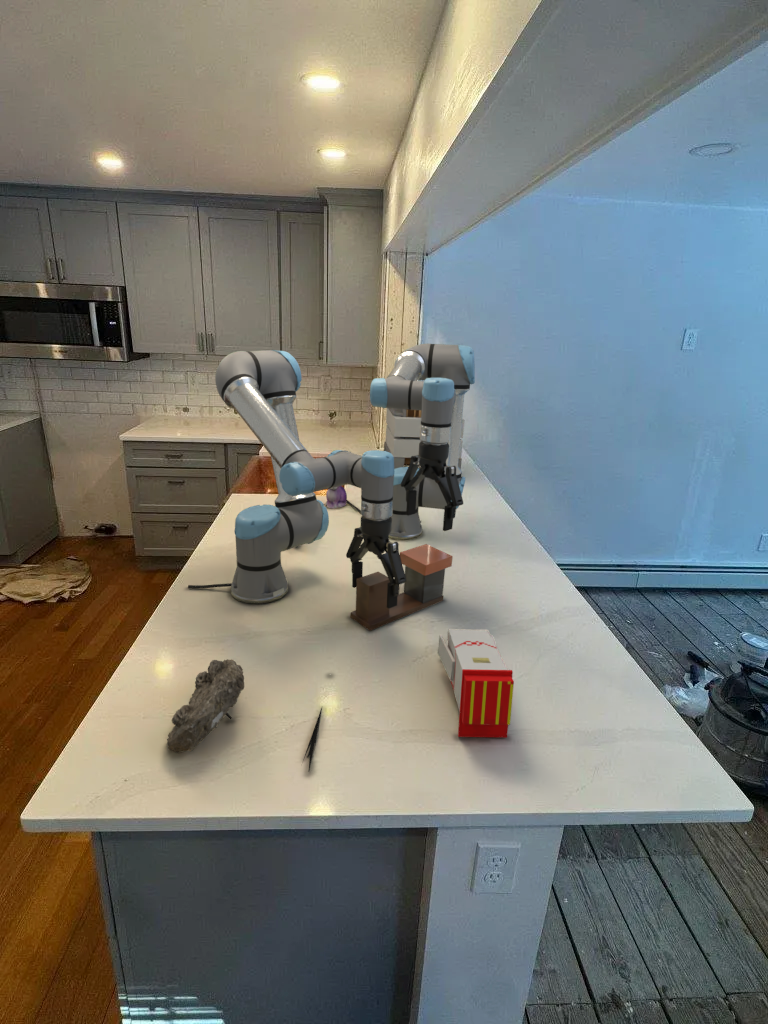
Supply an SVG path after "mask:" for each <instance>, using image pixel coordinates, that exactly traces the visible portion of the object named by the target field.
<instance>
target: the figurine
mask: <svg viewBox="0 0 768 1024" xmlns="http://www.w3.org/2000/svg"><path fill="white" fill-rule="evenodd" d="M325 497H326V503H325V505H326V508H327V509H328V508H329V509H339V508H344V507H345V506H346V505H347V502H346V501H347V500H348V495H347V491H346V489H345V488H344V487H343V486H338V487H334V488H330V489H326V493H325Z"/></svg>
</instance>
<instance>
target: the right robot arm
mask: <svg viewBox="0 0 768 1024" xmlns="http://www.w3.org/2000/svg"><path fill="white" fill-rule="evenodd" d="M475 365H476V364H475V351H474V349H473V347H471V346H469V345H463V344H443V343H427V342H426V343H419V344H416V345H413V346H411V347H408V348H406V349H405V350H403V351H402V352H400V353H399V354H398V356H397V357H396V359H395V360H394V365H393V366H394V367H393V368H392V370H391V371H390V373H389V374H388V375H387V376H386V378H385V377H380V378H379V377H377V378H376V377H375V378H373V379H372V380H371V383H370V387H369V388H370V389H369V402H370V405H372V407H375V408H382V409H387V408H393V409H409V410H421V411H422V412H421V426H420V440H421V442H420V443H419V455H415V456H411V460H410V465H409V466H404V467H400V468H396V469H394V470H395V474H394V482H393V513H392V516H391V518H392V531H391V533H390V534H389V540H395V541H410V540H415V539H418V538H420V537H421V536H422V535H423V525H422V520H421V518H420V515H419V508H428V509H438V510H444V511H443V521H442V522H443V523H442V531H443V532H447V531H450V530H453V527H454V526H453V525H454V519H455V518H456V512H457V509H459V508H460V506H463V505H464V500H463V493H464V492H463V491H464V486H465V483H466V477H465V476H463V474H462V473H463V471H462V469H461V470H460V468H459V467H458V459H459V448H460V439H461V438H460V437H461V426H462V419H463V414H464V403H465V395H466V394H467V393H468V392H469V391H470V388H471V385H474V384H475V383H476V369H475V368H476V367H475ZM419 465H420V466H419ZM346 504H348V505H350V506H351V507H352V508H353V509H355V510H356V511H358V512H359V513H360V514H361V509H359V507H357V506H356V505H354V504H353V503H352V502H351V501H349V500H348V499H347V501H346Z"/></svg>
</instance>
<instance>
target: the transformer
mask: <svg viewBox="0 0 768 1024" xmlns="http://www.w3.org/2000/svg"><path fill="white" fill-rule="evenodd" d="M421 412H422V411H421V410H409V409H393V408H386V413H385V414H386V415H385V423H386V428H385V438H384V442H383V451H387V452H389V453H391V454H392V455H393V457H394V469H396V468H400V467H405V466H406V467H409V465H410V460H411V456H415V455H419V443H420V442H421V440H420V426H421ZM464 429H465V419H464V418H462V426H461V437H460V448H459V459H458V467H459V468H460V470H461V471H462V461H463V460H462V453H463V442H464V441H463V440H462V439H463V438H464V431H465V430H464ZM419 467H420V465H419Z"/></svg>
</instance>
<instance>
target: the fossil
mask: <svg viewBox="0 0 768 1024" xmlns="http://www.w3.org/2000/svg"><path fill="white" fill-rule="evenodd" d="M243 670H244V669H243V667H242V665H240V664H237V662H236V661H235V660H234V659H232V658H231V659H227V658H226V659H224V660H223V661H222V660H217V659H212V660H211V661H210V663H209V665H208V666H207V671H201V672H199V673H198V674H197V675H196V676H195V680H194V684H195V685H194V687H195V689H194V690H193V693H192V694H191V697H190V698H189V700H188V704H184V705H182V706H181V707H180V709H177V710H176V711H175V713H174V715H173V716H172V718H171V723H172V724H173V727H172V730H171V731H170V732H168V734H167V738H166V741H167V742H166V745H167V749H168V750H169V751H173V752H174V753H176V754H178V753H182V752H188V751H189V752H192V751H193V750H195V748H196V747H197V746H199V744H200V743H201V742H203V741H204V740H205V739H206V738H207V737H208V736H209V735H210V734H211V733H212V732H214V730H215V729H217V727H218V726H219V724H220V722H221V721H222V720H223V719H224V718H225V716H226V717H227V719H229V720H233V717H232V715H230V714H229V710H230V709H231V708H234V706H235V704H236V703H237V702H238V699H239V697H240V695H241V693H242V691H243V690H245V689H244V688H245V675H244V671H243Z"/></svg>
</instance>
